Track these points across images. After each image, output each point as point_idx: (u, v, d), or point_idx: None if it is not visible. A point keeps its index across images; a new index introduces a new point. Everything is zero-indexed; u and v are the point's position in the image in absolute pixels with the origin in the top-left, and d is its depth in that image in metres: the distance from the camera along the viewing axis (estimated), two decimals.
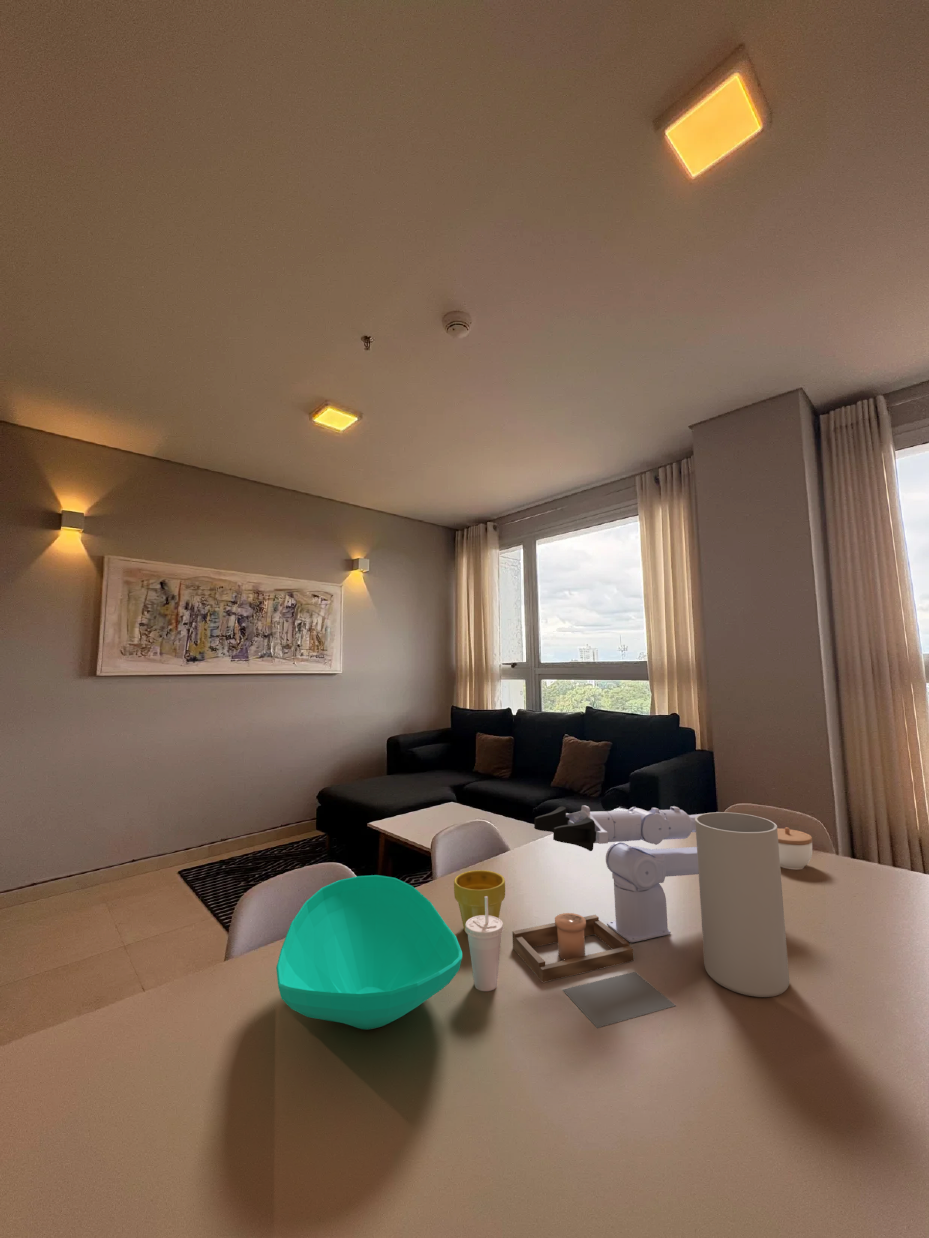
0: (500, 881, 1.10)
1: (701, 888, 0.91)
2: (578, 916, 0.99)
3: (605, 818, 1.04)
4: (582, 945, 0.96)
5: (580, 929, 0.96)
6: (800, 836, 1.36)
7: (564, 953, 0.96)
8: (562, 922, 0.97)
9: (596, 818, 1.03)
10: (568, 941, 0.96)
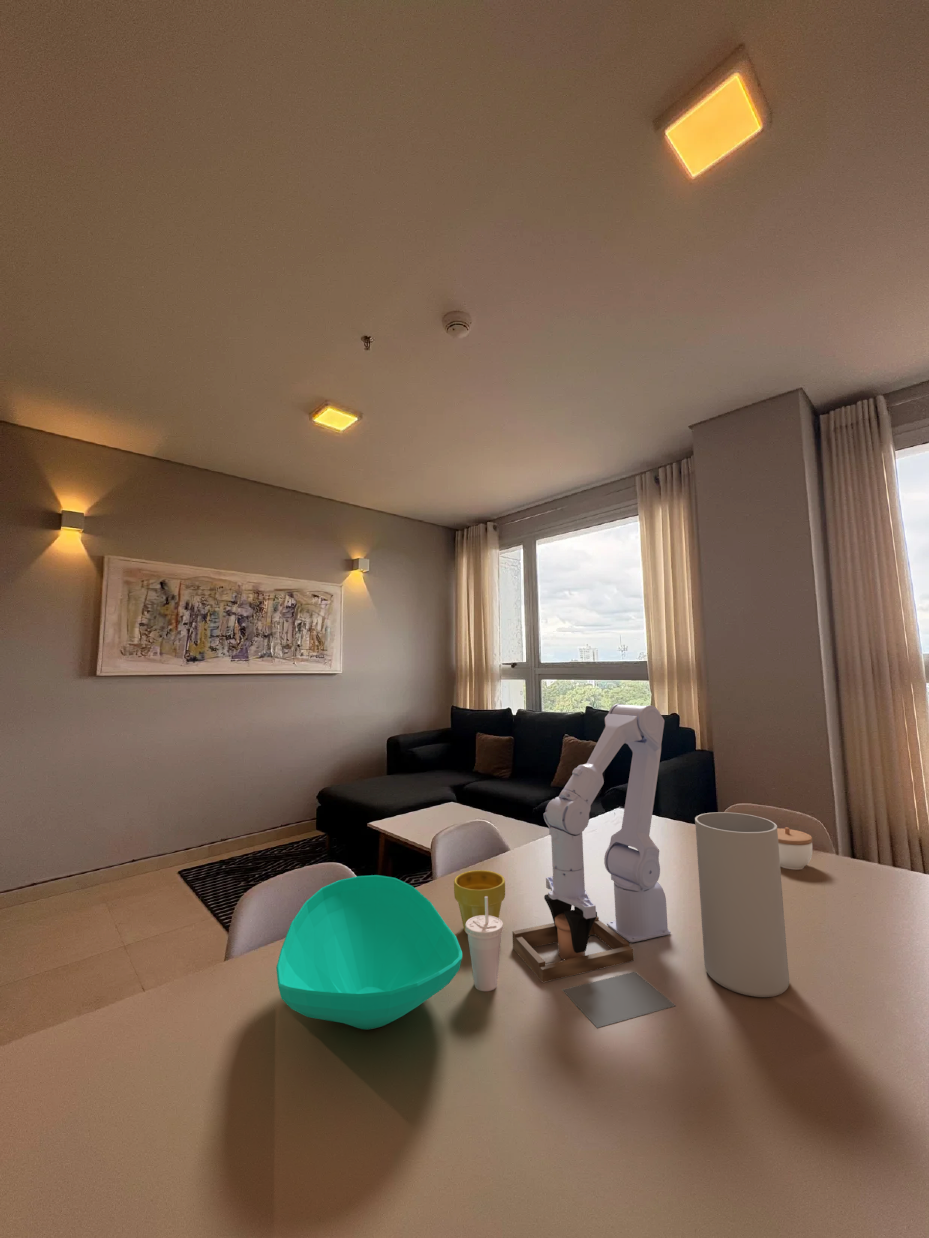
0: (500, 881, 1.10)
1: (701, 888, 0.91)
2: None
3: (563, 879, 0.96)
4: None
5: None
6: (800, 836, 1.36)
7: (564, 953, 0.96)
8: (562, 922, 0.97)
9: (564, 891, 0.96)
10: (568, 941, 0.96)
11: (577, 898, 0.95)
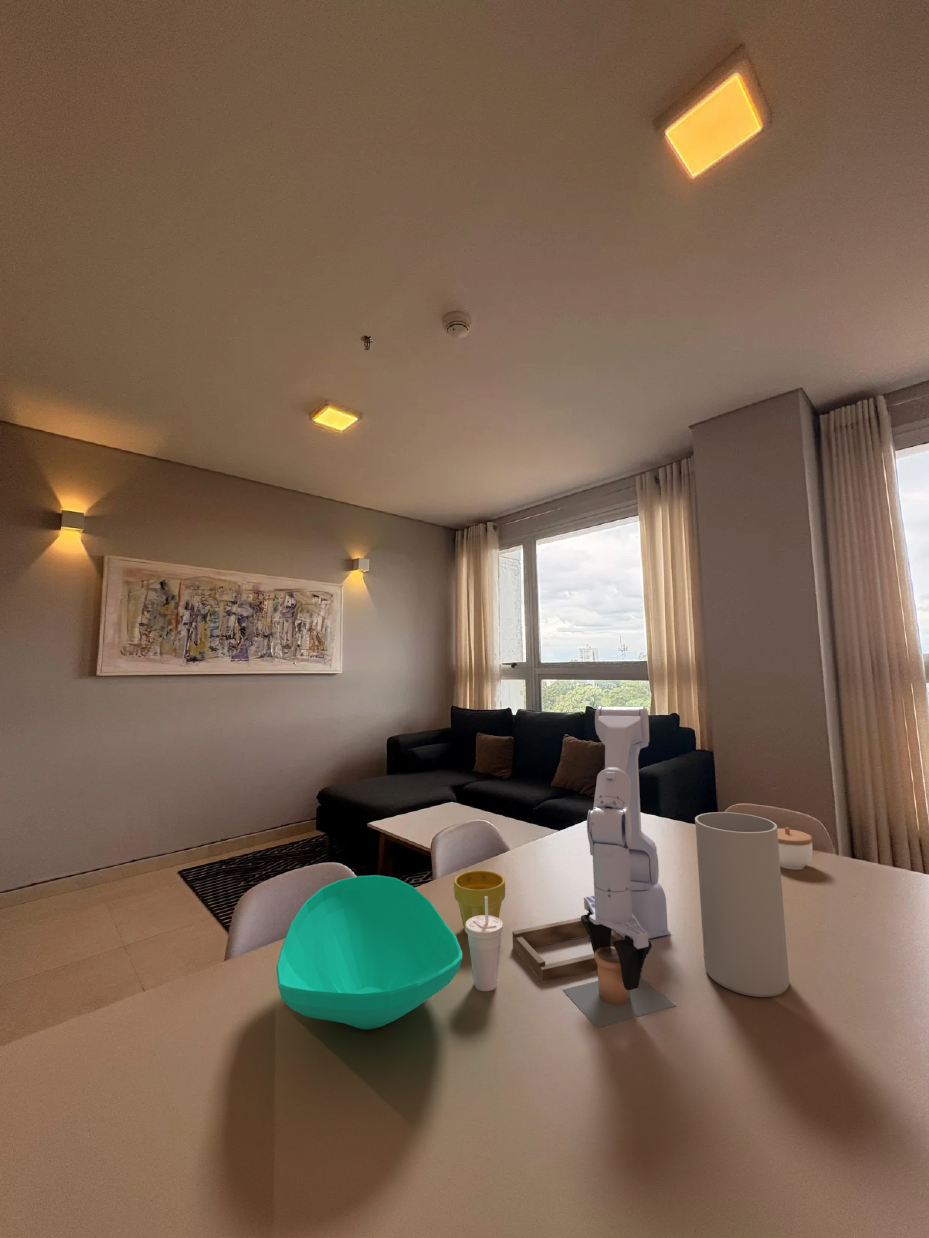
0: (500, 881, 1.10)
1: (701, 888, 0.91)
2: None
3: (608, 901, 0.83)
4: None
5: None
6: (800, 836, 1.36)
7: (607, 995, 0.83)
8: (603, 958, 0.85)
9: (609, 914, 0.83)
10: (611, 981, 0.83)
11: (624, 923, 0.82)
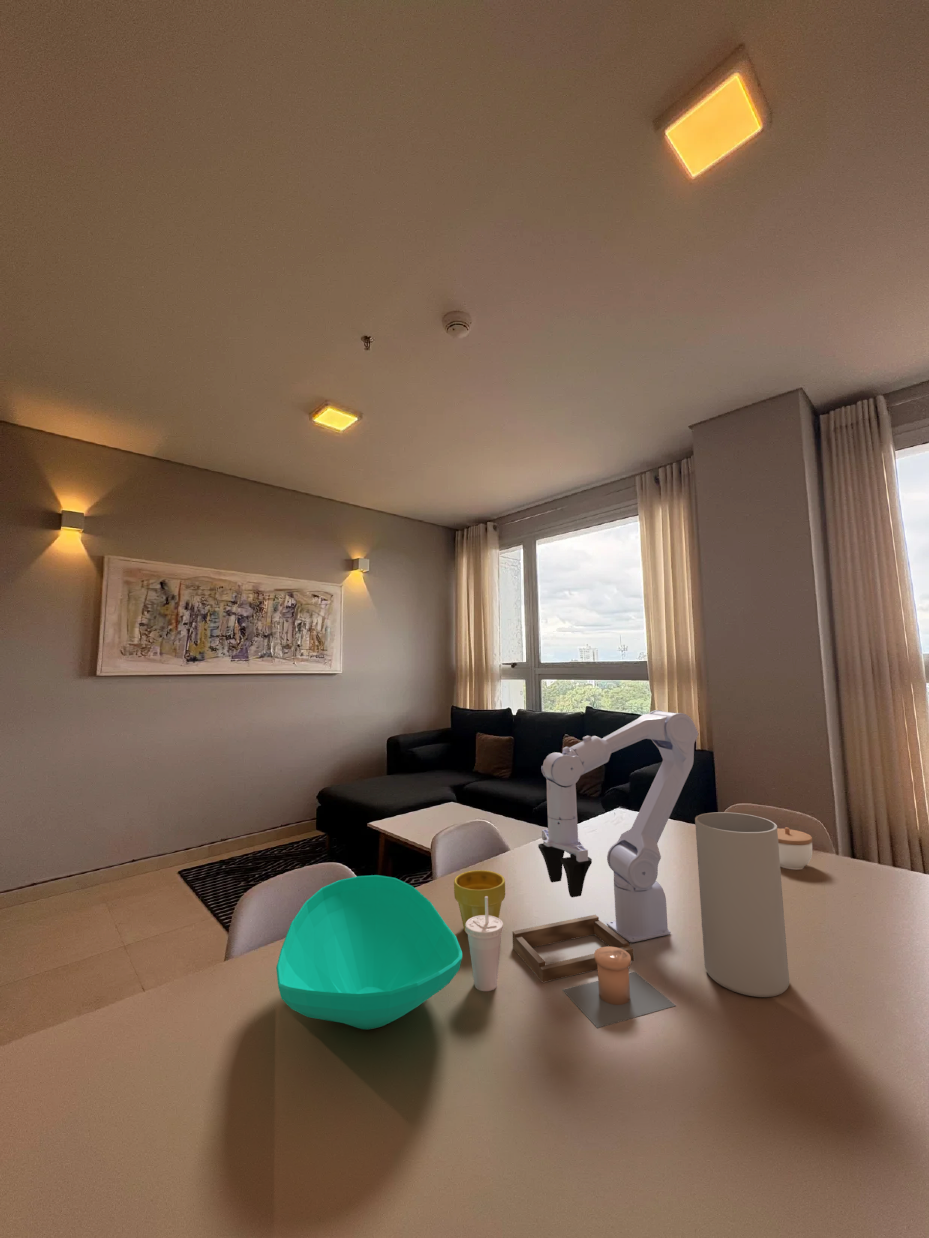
0: (500, 881, 1.10)
1: (701, 888, 0.91)
2: (621, 950, 0.87)
3: (558, 827, 1.02)
4: (627, 985, 0.83)
5: (625, 967, 0.83)
6: (800, 836, 1.36)
7: (607, 995, 0.83)
8: (603, 958, 0.85)
9: (558, 838, 1.02)
10: (611, 981, 0.83)
11: (571, 845, 1.02)
